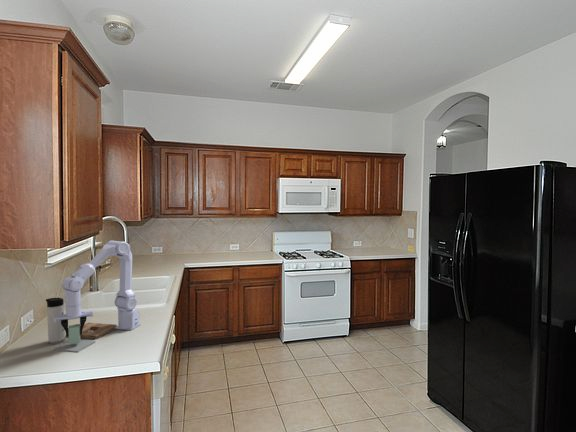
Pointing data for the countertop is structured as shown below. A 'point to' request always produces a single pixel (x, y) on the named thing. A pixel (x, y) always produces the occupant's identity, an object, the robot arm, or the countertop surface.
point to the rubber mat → (74, 346)
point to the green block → (74, 333)
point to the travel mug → (55, 329)
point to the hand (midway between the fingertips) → (74, 335)
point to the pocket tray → (96, 330)
